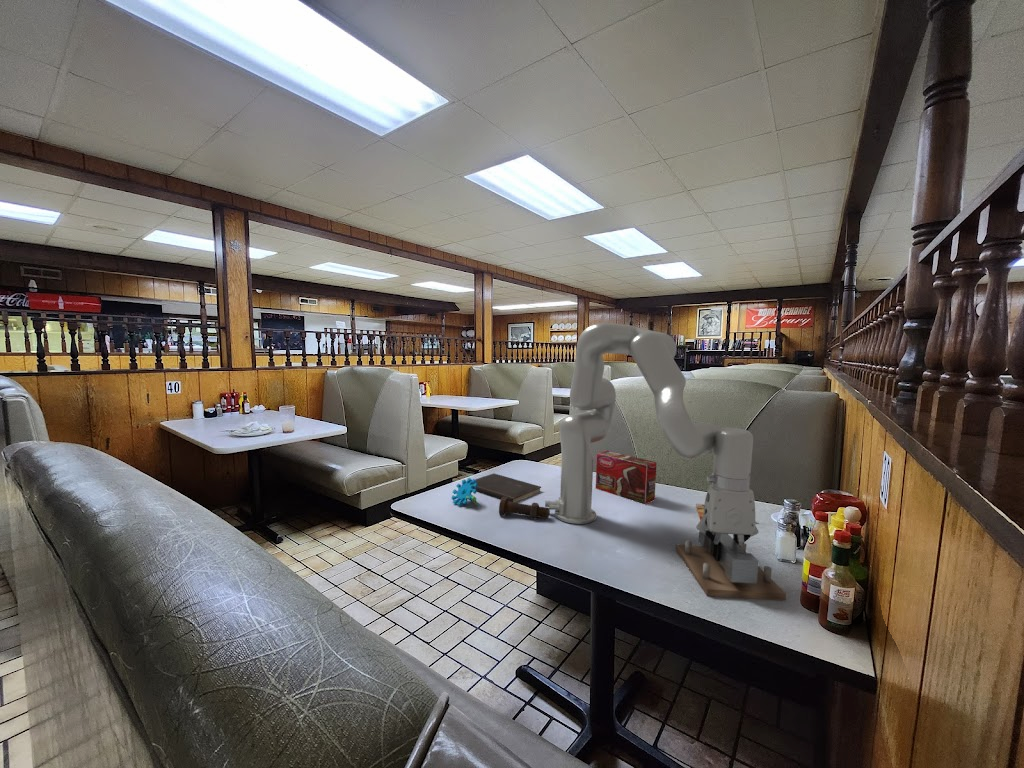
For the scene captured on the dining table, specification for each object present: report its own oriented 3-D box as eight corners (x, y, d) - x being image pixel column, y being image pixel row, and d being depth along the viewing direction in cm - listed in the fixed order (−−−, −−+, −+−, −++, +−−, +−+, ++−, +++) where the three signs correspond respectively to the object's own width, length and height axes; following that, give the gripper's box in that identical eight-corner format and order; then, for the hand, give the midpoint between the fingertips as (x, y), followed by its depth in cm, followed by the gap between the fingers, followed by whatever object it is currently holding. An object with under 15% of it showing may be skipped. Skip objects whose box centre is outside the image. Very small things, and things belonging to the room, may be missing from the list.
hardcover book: (493, 478, 164) (493, 473, 163) (541, 493, 149) (541, 486, 149) (463, 489, 151) (464, 482, 151) (512, 505, 137) (512, 498, 136)
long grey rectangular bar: (731, 582, 88) (733, 559, 88) (698, 541, 106) (699, 522, 106) (756, 583, 88) (758, 560, 87) (719, 542, 106) (720, 523, 105)
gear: (445, 495, 139) (466, 472, 141) (456, 504, 142) (476, 481, 144) (460, 510, 130) (482, 485, 132) (471, 520, 133) (492, 495, 135)
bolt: (548, 526, 125) (499, 518, 128) (550, 512, 129) (503, 505, 132) (547, 513, 121) (498, 506, 125) (550, 500, 125) (502, 493, 129)
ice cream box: (595, 488, 153) (597, 453, 152) (605, 485, 158) (607, 450, 156) (644, 504, 139) (646, 465, 137) (654, 500, 143) (656, 462, 142)
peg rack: (706, 595, 88) (708, 575, 87) (675, 549, 108) (676, 533, 107) (785, 600, 87) (787, 579, 86) (739, 553, 107) (740, 536, 106)
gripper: (700, 486, 92) (694, 565, 94) (777, 489, 91) (770, 569, 93) (687, 475, 99) (682, 549, 101) (759, 478, 99) (753, 552, 100)
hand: (724, 558), depth 97 cm, fingers closed on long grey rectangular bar, 3 cm apart
